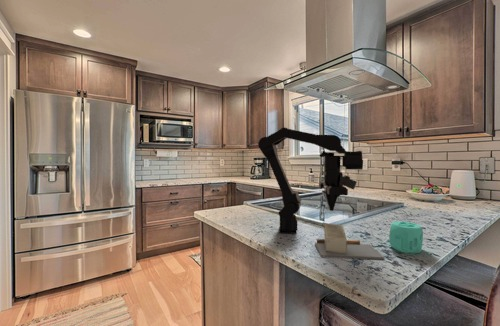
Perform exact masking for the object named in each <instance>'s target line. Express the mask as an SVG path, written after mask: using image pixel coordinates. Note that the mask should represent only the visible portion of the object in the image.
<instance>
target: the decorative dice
mask: <svg viewBox="0 0 500 326" xmlns="http://www.w3.org/2000/svg"><path fill="white" fill-rule="evenodd" d="M389 228H390V229H389V236H388V237H389V239H388V240H389V245H390V246H391V248H392V249H394V250H396V251H398V252H400V253H406V254H412V255H415V254H421V253H422V249H423V242H424V230H423V227H422V226H421V225H419V224H418V223H414V222H411V221H410V222H409V221H393V222H392V223H391V224H390V227H389Z"/></svg>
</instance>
